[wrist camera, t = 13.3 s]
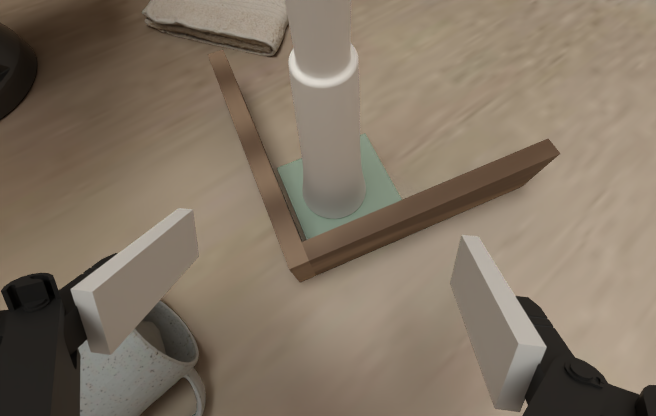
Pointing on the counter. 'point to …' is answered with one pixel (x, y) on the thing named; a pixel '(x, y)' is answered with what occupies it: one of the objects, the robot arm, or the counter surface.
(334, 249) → the walnut corner walls
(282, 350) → the counter surface
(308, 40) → the cosmetic bottle
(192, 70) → the counter surface
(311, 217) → the mat
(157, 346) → the ceramic mug
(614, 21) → the counter surface
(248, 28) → the washcloth
